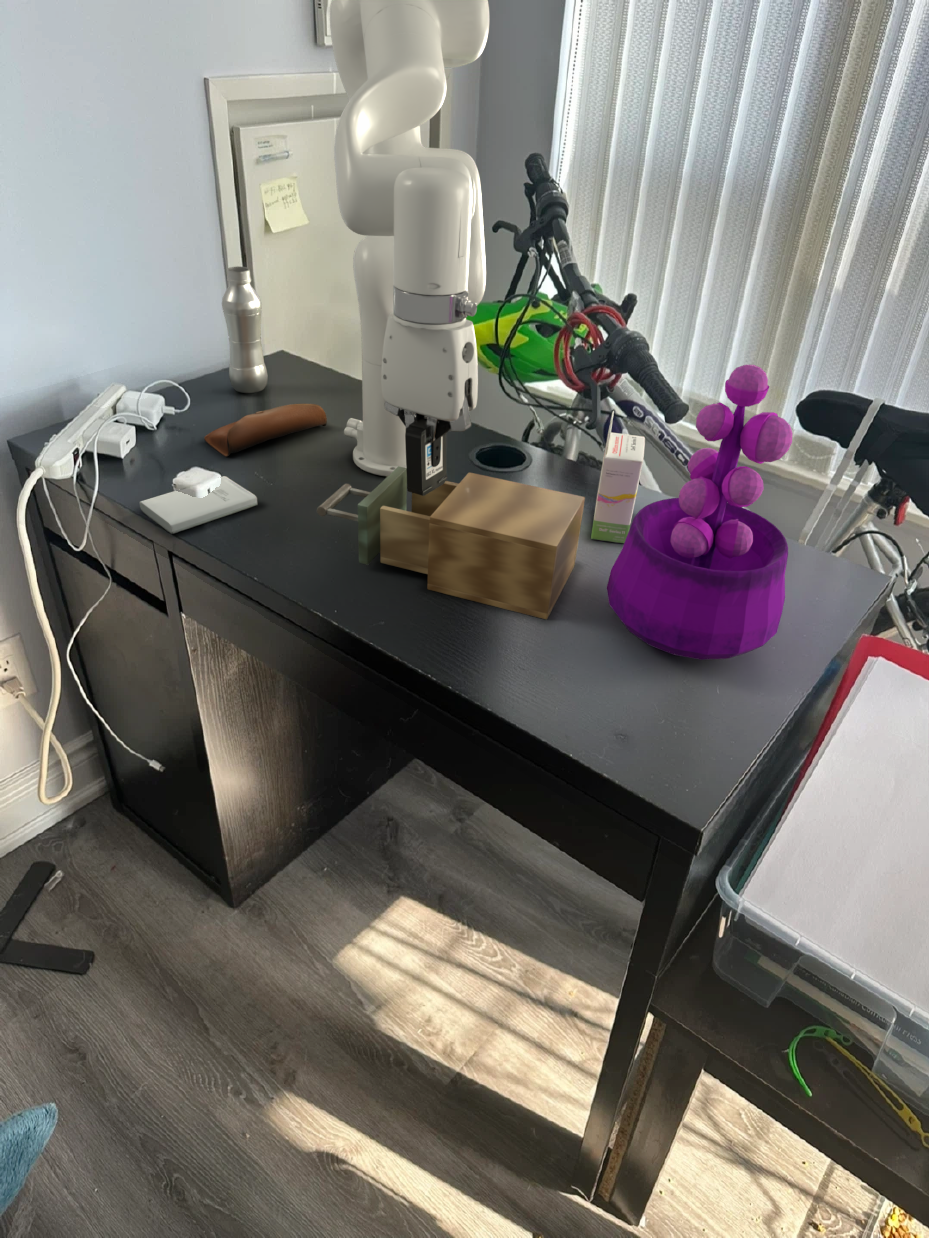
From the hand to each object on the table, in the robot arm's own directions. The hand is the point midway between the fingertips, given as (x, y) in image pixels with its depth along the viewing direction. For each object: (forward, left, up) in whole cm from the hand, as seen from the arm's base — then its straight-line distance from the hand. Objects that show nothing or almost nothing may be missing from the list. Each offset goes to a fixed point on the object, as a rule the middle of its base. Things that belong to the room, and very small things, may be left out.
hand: (425, 468), depth 97 cm
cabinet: (+10, +2, -12) cm, 16 cm away
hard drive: (-31, -7, -12) cm, 34 cm away
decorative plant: (+32, +4, -12) cm, 35 cm away
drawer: (-3, 0, -11) cm, 11 cm away
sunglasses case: (-40, +17, -12) cm, 45 cm away
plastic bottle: (-55, +29, -12) cm, 63 cm away
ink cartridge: (0, 0, -2) cm, 2 cm away
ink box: (+16, +21, -12) cm, 30 cm away
